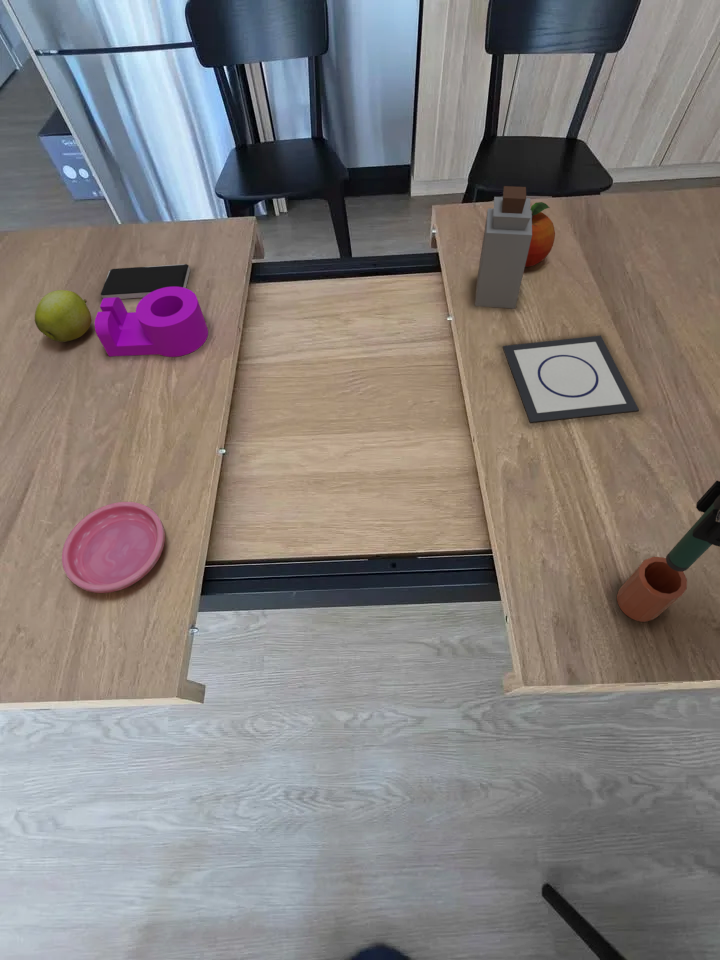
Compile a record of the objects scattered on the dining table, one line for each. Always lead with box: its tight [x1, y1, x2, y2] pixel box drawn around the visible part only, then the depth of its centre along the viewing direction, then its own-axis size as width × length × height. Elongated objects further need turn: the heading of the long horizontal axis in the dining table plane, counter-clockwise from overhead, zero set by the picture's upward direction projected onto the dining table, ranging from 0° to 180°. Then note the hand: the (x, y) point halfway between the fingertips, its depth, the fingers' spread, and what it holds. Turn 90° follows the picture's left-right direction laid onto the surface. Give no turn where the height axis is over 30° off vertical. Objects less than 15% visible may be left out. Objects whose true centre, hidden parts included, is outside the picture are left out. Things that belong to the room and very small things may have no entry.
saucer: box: [61, 501, 166, 594], centre depth 70 cm, size 12×12×3 cm
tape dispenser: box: [94, 287, 209, 358], centre depth 91 cm, size 16×10×6 cm, turn 91°
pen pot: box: [616, 556, 688, 623], centre depth 62 cm, size 5×5×7 cm
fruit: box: [525, 201, 556, 268], centre depth 97 cm, size 10×10×10 cm
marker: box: [665, 495, 720, 572], centre depth 50 cm, size 2×2×13 cm
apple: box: [34, 289, 92, 343], centre depth 92 cm, size 8×9×8 cm
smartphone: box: [100, 263, 191, 300], centre depth 102 cm, size 8×1×15 cm
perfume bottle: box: [474, 185, 532, 310], centre depth 89 cm, size 7×7×18 cm
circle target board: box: [502, 335, 640, 424], centre depth 84 cm, size 16×16×1 cm
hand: (712, 525), depth 49 cm, fingers closed on marker, 2 cm apart
